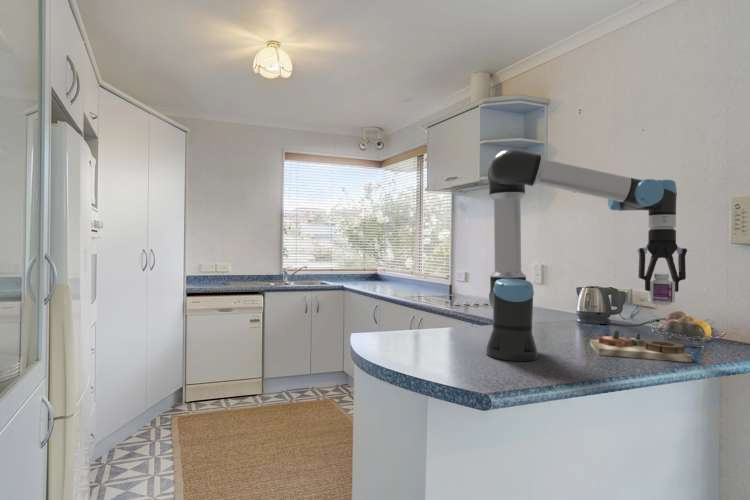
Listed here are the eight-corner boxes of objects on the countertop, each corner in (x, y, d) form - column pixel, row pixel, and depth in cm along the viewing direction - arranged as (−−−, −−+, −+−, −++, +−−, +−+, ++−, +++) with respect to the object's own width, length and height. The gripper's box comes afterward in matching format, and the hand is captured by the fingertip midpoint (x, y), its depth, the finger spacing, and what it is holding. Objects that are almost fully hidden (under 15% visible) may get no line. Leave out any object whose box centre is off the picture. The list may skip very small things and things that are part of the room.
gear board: (599, 354, 150) (599, 334, 150) (590, 344, 167) (590, 326, 167) (692, 362, 143) (692, 341, 143) (673, 351, 160) (673, 332, 160)
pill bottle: (674, 305, 146) (674, 274, 146) (655, 304, 148) (655, 274, 148) (667, 303, 152) (667, 273, 152) (649, 302, 153) (649, 273, 153)
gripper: (632, 228, 149) (632, 301, 149) (699, 228, 144) (699, 304, 144) (627, 229, 156) (626, 299, 156) (690, 229, 151) (690, 301, 151)
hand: (661, 301), depth 150 cm, fingers closed on pill bottle, 5 cm apart
